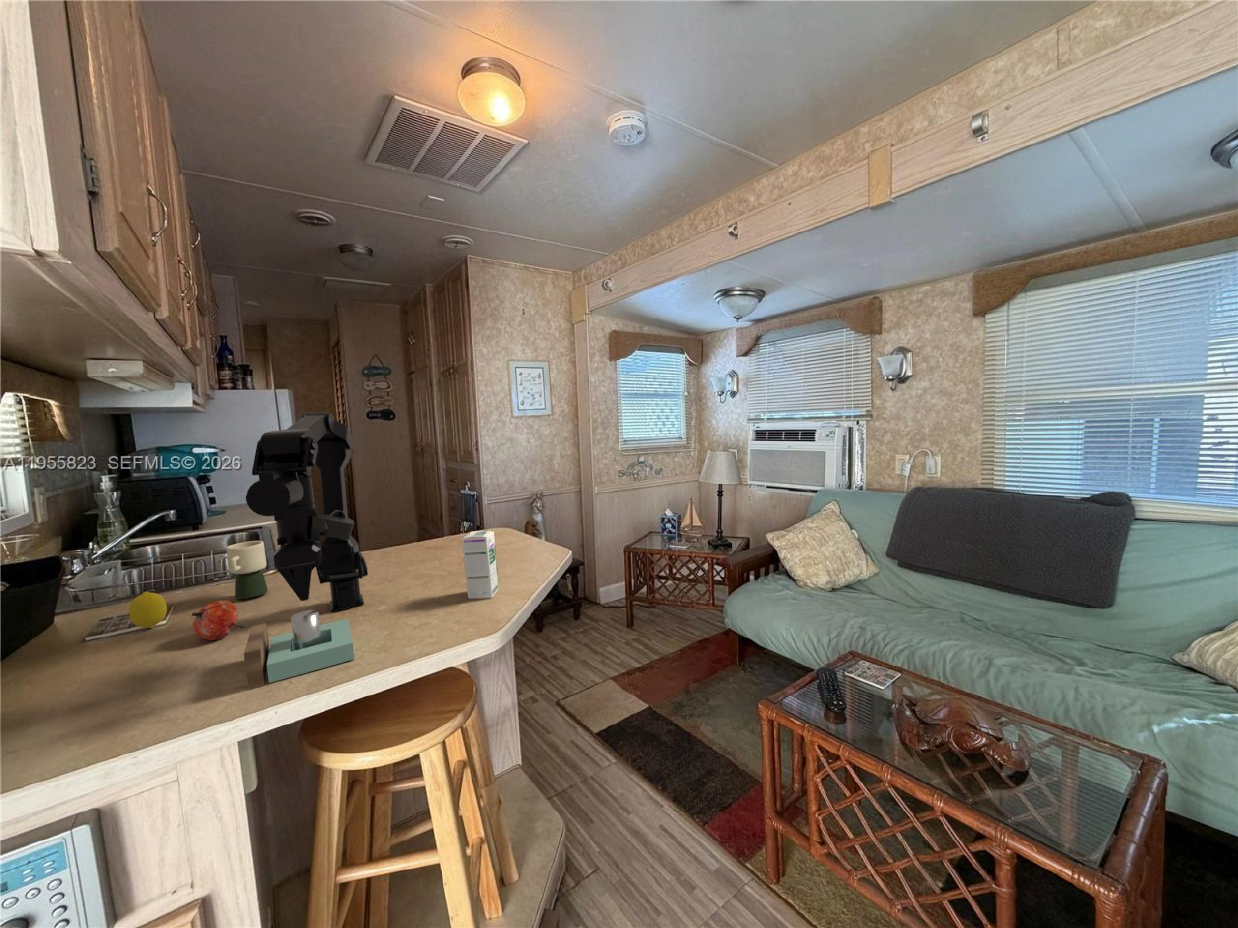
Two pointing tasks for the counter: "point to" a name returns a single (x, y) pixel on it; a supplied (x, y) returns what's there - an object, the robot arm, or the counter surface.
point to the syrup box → (480, 564)
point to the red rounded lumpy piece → (215, 620)
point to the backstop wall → (257, 656)
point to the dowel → (306, 629)
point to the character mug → (248, 568)
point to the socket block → (310, 652)
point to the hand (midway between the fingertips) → (305, 591)
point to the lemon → (147, 610)
